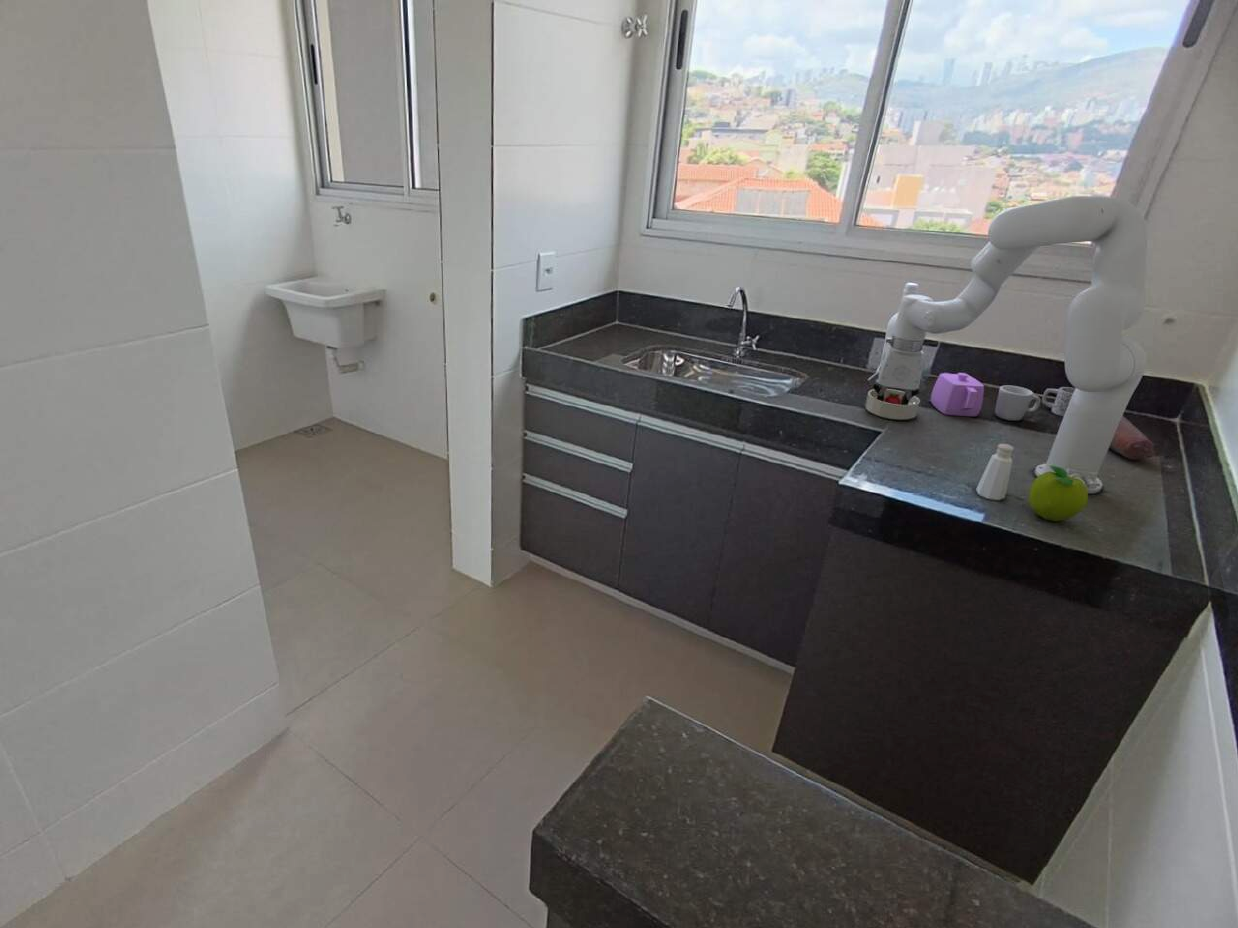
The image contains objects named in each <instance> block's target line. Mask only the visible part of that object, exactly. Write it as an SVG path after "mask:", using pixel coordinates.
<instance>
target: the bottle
mask: <svg viewBox="0 0 1238 928" xmlns="http://www.w3.org/2000/svg"><path fill="white" fill-rule="evenodd" d="M918 289H919V284H918V283H915V282H907V283H906V284H905V285H904V289H903V290H902V297H901V301H902V299H903V297H904V296H906V295H911V294H914V295H918ZM901 301H900V302H901ZM900 305H901V303H900ZM900 305H899V306H900ZM899 309H900V307H899V308H898V311H897V312H896V313H895V314H894V315H893V316H892V317H891V318H890V319H889V320H888V323H887V326H886V330H885V338H884V343H883V349H882V354H881V361H880V364H879V366H878V367H877V369H876V372H878V371H879V368H880V365H881V362H882V359H883V356H884V354H885V352H886V349H887V347H888V346H891V345H890V344H889V343H886V338H891V337H892V335H893V334H894V330H895V326H896V321H897V317H898V313H899ZM876 372H875V373H876ZM875 382H876V383H877V384H878V385H880V384H879V383H878V380H875Z"/></svg>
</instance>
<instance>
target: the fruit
mask: <svg viewBox="0 0 1238 928" xmlns="http://www.w3.org/2000/svg"><path fill="white" fill-rule="evenodd" d="M1050 467H1051V468H1052V469H1053V470H1054V472H1055V473H1054V472H1045V473H1043V474H1041V475H1040V476H1038V477H1037V476H1036V478H1034V480H1032V483H1031V484H1030V487H1029V491H1028V501H1029V505H1030V507H1031V510H1033V512H1034V513H1035V514H1036V515H1038V516H1039V517H1041V518H1043V519H1044V520H1045V521H1051V522H1061V521H1066V520H1069V519H1072V518H1074V517H1076V516H1077V515H1078V514H1080V513H1081V512H1082V511H1083V510H1084V509H1085V507H1086V506H1087V503H1088V502H1089V494H1088V492H1087V489H1086V487H1085V485H1084V483H1083V482H1082V481H1081V480H1080V479H1078V478H1074V477H1069V476H1066V475H1067V472H1066V471H1065V470H1064V469H1062V468H1060V467H1057V466H1050Z"/></svg>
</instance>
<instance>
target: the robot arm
mask: <svg viewBox="0 0 1238 928" xmlns="http://www.w3.org/2000/svg"><path fill="white" fill-rule="evenodd" d="M987 238H988V243H987V244H986V245H985V246H983V248H982V249H981V250H980V251H979V252H978V253H977V254H976V255H975V256H974V257H973V258H972V260H971V262H970V268H971V270H972V272H973V276H972V279H971V280H970V281H969V283H968V285H967V286H966V287H965V288H964V289H963V290H962V291H961V292H960V293H959V294H958V295H957V296H956V297H955V298H954V299H949V300H944V301H943V300H941V301H934V300H933V299H932V298H931V297H929V296H926V295H922V294H916V295H914V294H911V295H906V296H904V297H903V299H902V298H901V300H902V301H900V304H901V305H899V308H900V309H899V308H898V311H899V313H898V312H897V313H898V317H897V321H896V326H895V330H894V334H893V335H892V337H891V338H886V343H889V344H890V345H891V346H888V347H887V349H886V352H885V354H884V356H883V359H882V358H881V360H882V362H881V361H880V364H881V365H880V364H879V366H880V368H879V371H878V372H875V373H873V375H870V377H869V378H867V383H868V384H869V385H870V386H871V387H872V388H873V389H875V391H876V392H877V393H878V396H877V399H878V400H880V401H884V392H885V391H886V389H896V390H898V389H899V390H904V392H905V394H904V396H902V400H901V404H900V405H908V403H909V400H910V399H911V398H912V397H913V396H916V395H918V394H919V393H922V392H924V391H926V390H927V385H926V384H925V382H924V381H923V379H922V374H923V369H924V364H925V363H924V362H925V352H924V351H923V350H922V349H923V346H924V342H925V340H926V339H925V338H926V335H927V333H929V334H933V335H940V334H944V333H948V332H954V331H960V330H964V329H965V328H967V327H968V326H970V325H971V324H972V323H974V321H976V320H977V319H978V318H979V317H980V316H981V315H982V314H983V313H984V312H985V311H986V310H987V309H988V308H989V307H990V306H991V305H992V303H993V302H994V301H995V299H996V297H997V295H998V294H999V292H1000V290H1001V289H1002V285H1003V284H1004V283H1005V281H1007V280H1008V279H1009V278H1010V277H1011V276H1012V274H1013V273H1015V271H1017V269H1019V267H1020V266H1022V264H1024V263H1025V261H1027V260H1028V258H1030V257H1031V256H1032V255H1033V254H1034V253H1035V252H1036V251H1037V250H1038V249H1039V248H1040V247H1045V246H1053V245H1062V244H1070V243H1071V244H1072V243H1084V242H1085V243H1086V242H1090V243H1093V244H1095V251H1094V255H1093V258H1092V263H1091V281H1090V287H1087V288H1086V289H1084V290H1082V291H1080V293H1078V294H1077V295H1076V296H1075V297H1074V298H1073V300H1072V301H1071V302H1070V305H1069V306H1068V309H1067V312H1066V318H1065V335H1064V337H1065V339H1064V372H1065V376H1066V379H1067V380H1068V383H1070V385H1072V387H1073V388H1076V389H1075V391H1074V393H1073V395H1072V397H1071V400H1070V402H1069V405H1068V407H1067V410H1066V412H1065V415H1064V417H1063V416H1062V420H1061V423H1060V425H1059V429H1058V431H1057V434H1056V437H1055V439H1054V441H1053V445H1052V447H1051V450H1050V452H1049V454H1048V457H1047V460H1046V462H1045V463H1042V464H1041V463H1040V464H1038V465H1037V466H1036V467H1035V469H1034V474H1035V476H1036V478H1037V477H1038V476H1040V475H1041V474H1043V473H1045V472H1054V470H1053V469H1052V468H1051V467H1050V466H1057V467H1060V468H1062V469H1064V470H1065V471H1066V472H1067V475H1066V476H1069V477H1074V478H1078V479H1080V480H1081V481H1082V482H1083V483H1084V485H1085V487H1086V489H1087V492H1088V495H1089V494H1097V493H1098V492H1100V491H1101V490H1102V488H1103V482H1102V480H1101V479H1099V478H1098V474H1099V472H1100V471H1101V468H1102V465H1103V463H1104V461H1105V458H1106V456H1107V454H1108V451H1109V449H1110V448H1109V446H1110V444H1111V441H1112V439H1113V437H1114V434H1115V432H1116V429H1117V427H1118V425H1119V422H1120V420H1121V418H1122V416H1124V413H1125V411H1126V408H1127V406H1128V404H1129V402H1130V400H1131V398H1132V396H1133V394H1134V393H1135V390H1136V389H1137V387H1138V386H1139V384H1140V383H1141V380H1142V377H1143V376H1144V374H1145V371H1146V368H1147V365H1148V357H1147V353H1146V350H1145V349H1144V348H1143V346H1142V345H1141V344H1139V342H1136V341H1135V340H1132V339H1129V338H1124V330H1128V329H1130V328H1131V327H1133V326H1135V325H1136V324H1138V323H1139V321H1140V320H1141V318H1142V317H1143V315H1144V312H1145V299H1146V298H1145V297H1146V278H1147V277H1146V276H1147V252H1148V251H1147V250H1148V248H1147V247H1148V226H1147V222H1146V219H1145V216H1144V215H1143V213H1142V212H1141V211H1140V210H1139V208H1138V207H1136V206H1135V205H1134V204H1132V203H1130V202H1128V201H1126V200H1123V199H1119V198H1116V197H1112V196H1111V197H1110V196H1103V195H1102V196H1101V195H1089V196H1087V195H1078V196H1077V195H1076V196H1068V197H1067V196H1066V197H1062V198H1057V199H1052V200H1051V199H1050V200H1045V201H1041V202H1036V203H1031V204H1025V205H1019V206H1013V207H1008V208H1006V209H1004V210H1002V211H1001V212H999V213H998V214H997V215H996V216H995V217H994V218H993V219H992V221H991V222H990V224H989V226H988V230H987ZM876 380H878V383H879V384H878V383H877V382H876ZM1054 473H1055V472H1054Z"/></svg>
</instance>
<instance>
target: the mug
mask: <svg viewBox="0 0 1238 928" xmlns="http://www.w3.org/2000/svg"><path fill="white" fill-rule="evenodd" d="M1075 389H1076V388H1075V387H1069V386H1061V387H1059V388H1046V390H1044V391H1043V392H1044V393H1043V394H1042V398H1041V403H1042V404H1043V405H1045V406H1046V407H1048V408H1051V413H1053V414H1055V415H1058V416H1061V417H1062V418H1063V417H1064V415H1065V412H1066V410H1067V407H1068V405H1069V402H1070V400H1071V397H1072V395H1073V393H1074V391H1075ZM1051 393H1053V394H1056V397H1055V400H1054V402H1049V401H1048V400H1047V398H1048V395H1049V394H1051Z"/></svg>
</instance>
